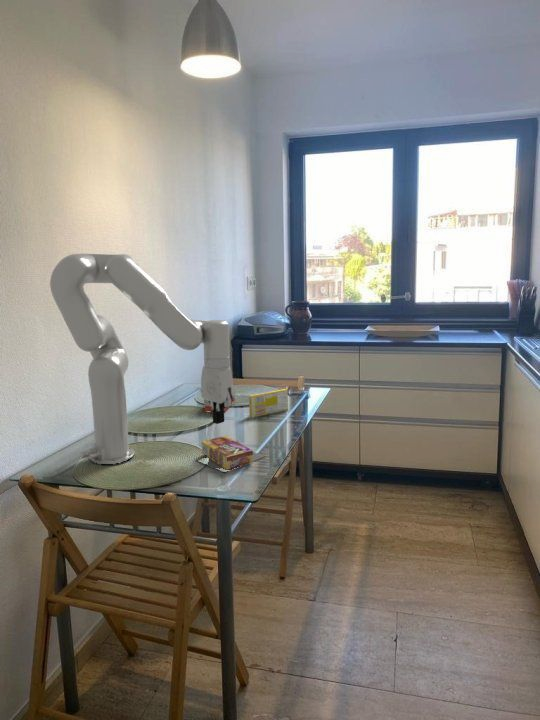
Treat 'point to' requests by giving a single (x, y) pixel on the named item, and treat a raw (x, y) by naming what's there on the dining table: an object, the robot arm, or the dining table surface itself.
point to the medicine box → (208, 406)
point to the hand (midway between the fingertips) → (218, 422)
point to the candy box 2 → (268, 402)
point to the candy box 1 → (227, 452)
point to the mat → (255, 458)
